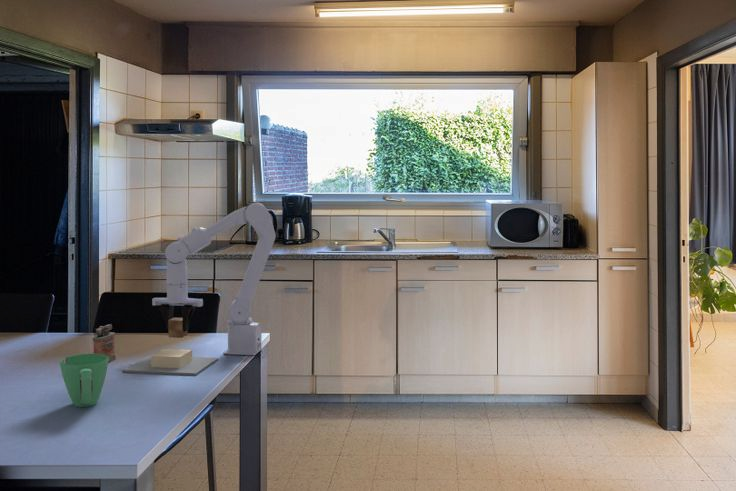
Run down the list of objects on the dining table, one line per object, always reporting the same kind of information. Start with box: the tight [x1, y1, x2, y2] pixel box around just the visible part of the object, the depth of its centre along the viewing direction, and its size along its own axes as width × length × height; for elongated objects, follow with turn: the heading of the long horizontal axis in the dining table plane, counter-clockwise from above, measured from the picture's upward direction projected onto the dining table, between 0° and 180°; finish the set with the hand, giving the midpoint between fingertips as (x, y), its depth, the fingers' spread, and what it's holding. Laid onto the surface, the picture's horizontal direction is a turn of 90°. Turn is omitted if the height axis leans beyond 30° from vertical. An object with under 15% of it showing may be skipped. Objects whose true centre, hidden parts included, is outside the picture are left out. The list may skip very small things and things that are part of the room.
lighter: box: [92, 324, 116, 364], centre depth 182 cm, size 8×3×10 cm, turn 168°
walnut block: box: [167, 317, 189, 339], centre depth 191 cm, size 4×4×5 cm
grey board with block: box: [121, 348, 219, 377], centre depth 178 cm, size 20×16×4 cm
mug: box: [59, 353, 109, 408], centre depth 144 cm, size 15×10×10 cm
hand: (178, 330), depth 191 cm, fingers closed on walnut block, 4 cm apart
